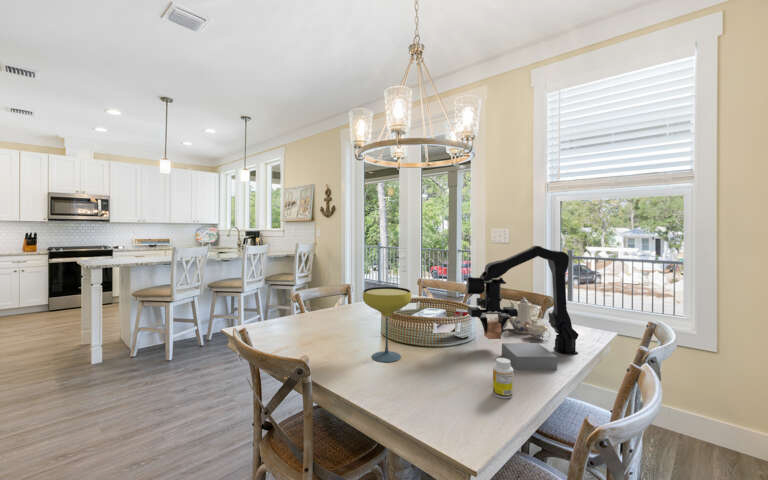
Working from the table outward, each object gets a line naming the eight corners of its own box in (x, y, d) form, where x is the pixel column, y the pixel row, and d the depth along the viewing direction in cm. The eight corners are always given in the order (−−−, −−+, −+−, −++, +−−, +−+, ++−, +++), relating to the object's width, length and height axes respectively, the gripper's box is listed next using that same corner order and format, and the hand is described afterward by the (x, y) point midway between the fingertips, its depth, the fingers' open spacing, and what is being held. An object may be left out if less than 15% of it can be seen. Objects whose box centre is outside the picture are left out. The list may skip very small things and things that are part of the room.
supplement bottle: (497, 388, 105) (497, 355, 105) (515, 394, 101) (516, 359, 101) (489, 395, 101) (490, 360, 100) (508, 401, 97) (509, 365, 97)
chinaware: (485, 333, 166) (484, 299, 164) (499, 322, 178) (498, 291, 176) (547, 346, 147) (547, 309, 145) (558, 334, 160) (558, 298, 158)
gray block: (537, 355, 133) (537, 343, 133) (557, 370, 119) (557, 356, 119) (501, 356, 133) (501, 343, 133) (516, 371, 119) (517, 356, 119)
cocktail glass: (362, 367, 121) (362, 295, 120) (362, 349, 139) (362, 286, 138) (414, 366, 122) (414, 295, 121) (407, 348, 140) (407, 286, 139)
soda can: (470, 339, 151) (470, 312, 150) (453, 338, 152) (453, 311, 152) (469, 334, 158) (469, 308, 157) (453, 333, 159) (453, 308, 159)
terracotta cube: (496, 334, 142) (496, 320, 142) (500, 338, 137) (501, 323, 137) (484, 335, 142) (484, 320, 142) (488, 339, 137) (488, 323, 137)
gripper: (507, 290, 147) (506, 327, 148) (464, 291, 146) (463, 327, 147) (519, 295, 136) (518, 335, 137) (472, 296, 135) (471, 335, 136)
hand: (492, 333), depth 139 cm, fingers closed on terracotta cube, 5 cm apart
